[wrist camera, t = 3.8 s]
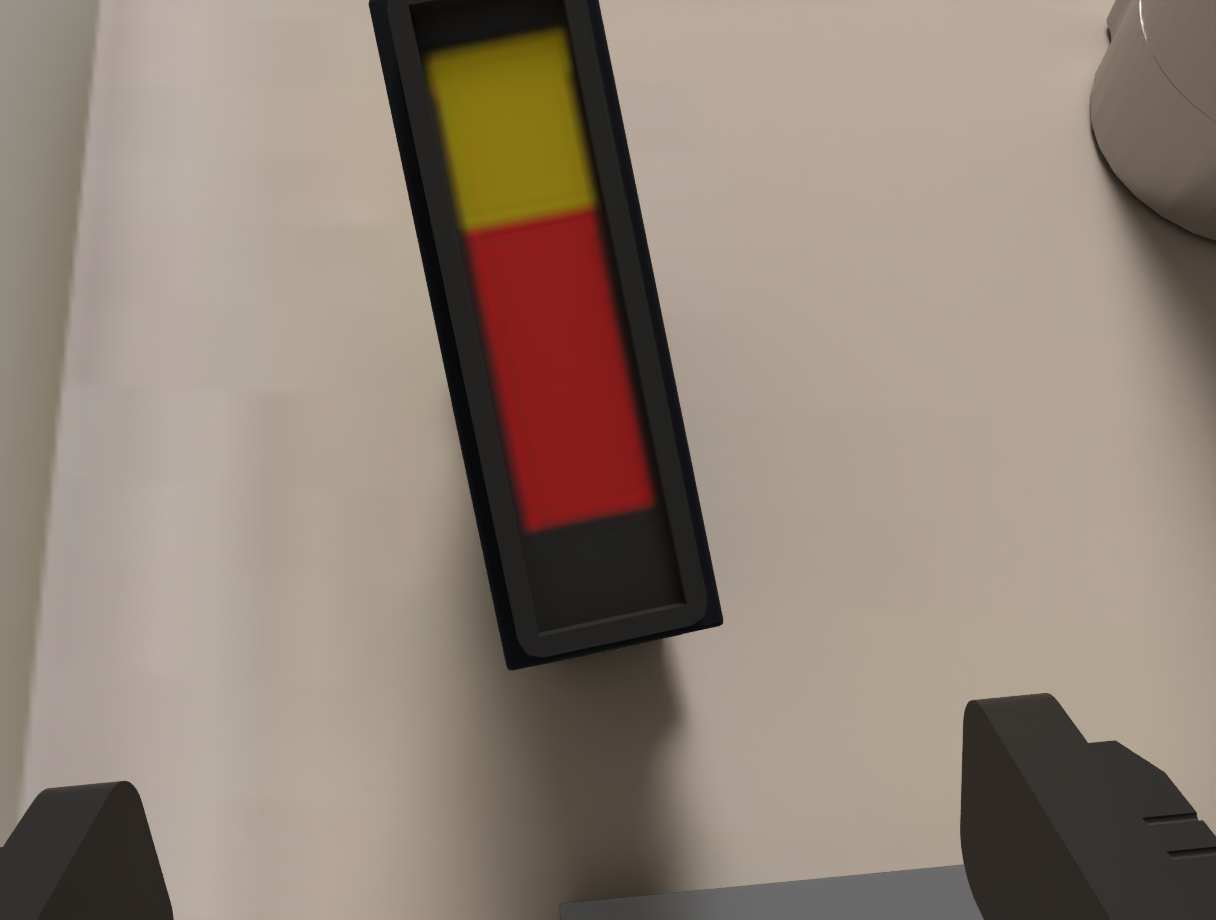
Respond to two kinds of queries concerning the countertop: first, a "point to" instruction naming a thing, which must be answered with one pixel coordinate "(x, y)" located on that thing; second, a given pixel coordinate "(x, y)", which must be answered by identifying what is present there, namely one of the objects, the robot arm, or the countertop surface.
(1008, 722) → the robot arm
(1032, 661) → the countertop surface
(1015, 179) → the countertop surface
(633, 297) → the magazine
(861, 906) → the mounting plate
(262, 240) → the countertop surface
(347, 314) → the countertop surface
